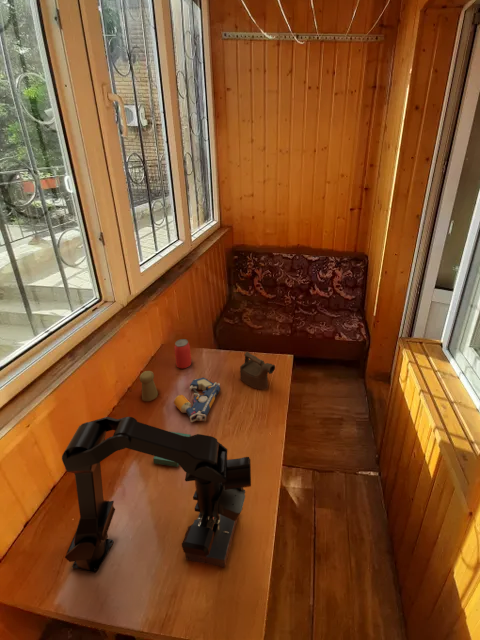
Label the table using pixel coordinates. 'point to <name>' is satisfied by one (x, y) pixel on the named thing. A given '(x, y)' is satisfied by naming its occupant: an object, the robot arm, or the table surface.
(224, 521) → the black flat block
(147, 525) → the table surface
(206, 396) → the toy gun
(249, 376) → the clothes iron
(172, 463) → the green block
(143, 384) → the cork
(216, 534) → the nozzle dial
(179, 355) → the beer can
